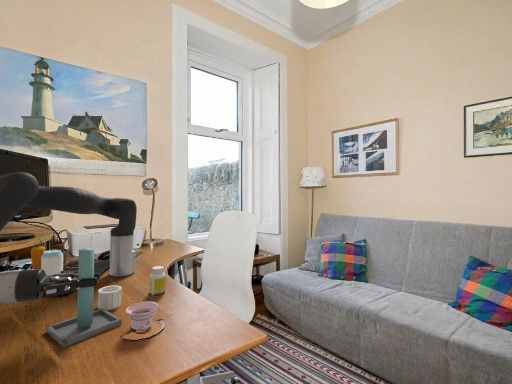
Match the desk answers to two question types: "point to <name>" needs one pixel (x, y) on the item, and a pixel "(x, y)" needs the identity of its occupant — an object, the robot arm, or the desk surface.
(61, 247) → the wooden figurine
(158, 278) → the supplement bottle
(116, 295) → the cup
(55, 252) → the can
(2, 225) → the robot arm
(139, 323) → the teacup
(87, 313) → the dowel
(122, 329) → the desk surface
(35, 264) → the carrot
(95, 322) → the tray
